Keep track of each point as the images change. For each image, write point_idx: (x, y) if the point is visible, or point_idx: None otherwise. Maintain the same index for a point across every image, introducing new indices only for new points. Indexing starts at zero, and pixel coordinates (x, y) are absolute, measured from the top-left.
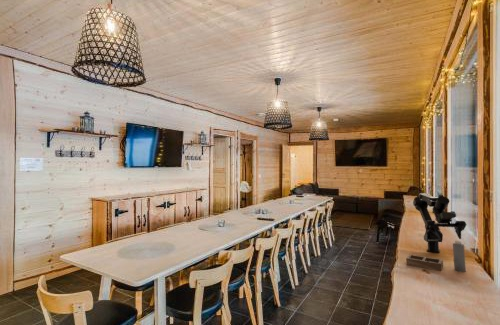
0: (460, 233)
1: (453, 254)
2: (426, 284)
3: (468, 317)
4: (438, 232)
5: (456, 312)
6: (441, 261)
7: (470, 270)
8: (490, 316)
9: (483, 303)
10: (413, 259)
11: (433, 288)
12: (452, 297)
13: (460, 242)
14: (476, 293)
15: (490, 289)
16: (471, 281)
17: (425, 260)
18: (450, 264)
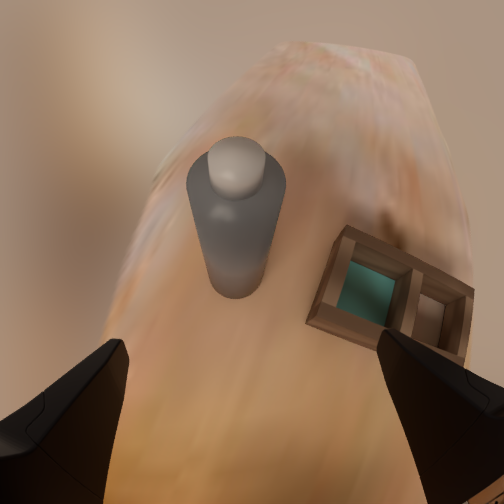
0: (66, 379)
1: (271, 242)
2: (386, 130)
3: (319, 45)
4: (443, 368)
5: (334, 53)
6: (334, 271)
7: (180, 283)
8: (284, 45)
9: (276, 66)
10: (452, 278)
11: (370, 111)
12: (332, 80)
13: (225, 142)
14: (270, 92)
15: (216, 113)
16: None
17: (404, 297)
18: (248, 373)
